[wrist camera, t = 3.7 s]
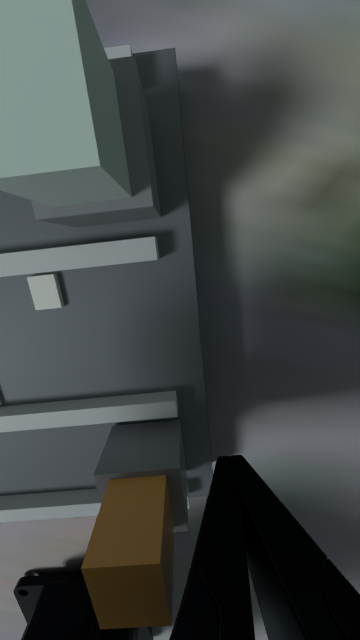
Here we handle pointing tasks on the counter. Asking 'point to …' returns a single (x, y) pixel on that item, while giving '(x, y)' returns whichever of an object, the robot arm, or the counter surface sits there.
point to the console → (99, 331)
